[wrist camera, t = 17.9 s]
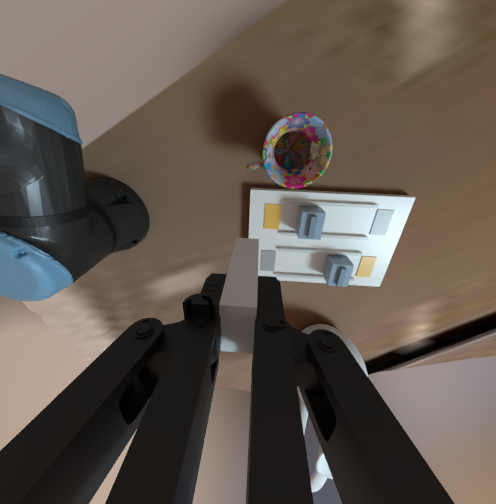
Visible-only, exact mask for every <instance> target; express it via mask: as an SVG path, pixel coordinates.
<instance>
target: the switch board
mask: <svg viewBox="0 0 496 504" xmlns="http://www.w3.org/2000/svg"><path fill="white" fill-rule="evenodd" d="M414 201H415V197H413V196H410V195H396V194H375V193H355V192H334V191H314V190H293V189H273V188H252V187H251V190H250V215H249V238H252V239H259V255H258V276H271V277H276V278H277V279H278V280H282V281H298V282H314V283H326V281H325V279H324V276H323V271H324V267H325V263H326V259H327V255H343V256H347V257H348V258H349V259H350V261H351V262H352V263H353V265H354V268H353V271H352V274H351V277H350V280H349V284H348V285H361V286H377V287H380V284H381V282H382V279H383V277H384V275H385V272H386V270H387V267H388V265H389V262H390V260H391V257H392V255H393V252H394V250H395V247H396V245H397V243H398V240H399V238H400V235H401V233H402V230H403V228H404V225H405V223H406V220H407V218H408V215H409V213H410V211H411V208H412V206H413V203H414ZM299 206H313V207H321V208H322V209H323V210H324V212H325V213H326V216H325V221H324V225H323V230H322V235H321V239H320V240H314V239H298V236H297V234H296V231H295V229H296V222H297V216H298V209H299Z"/></svg>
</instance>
